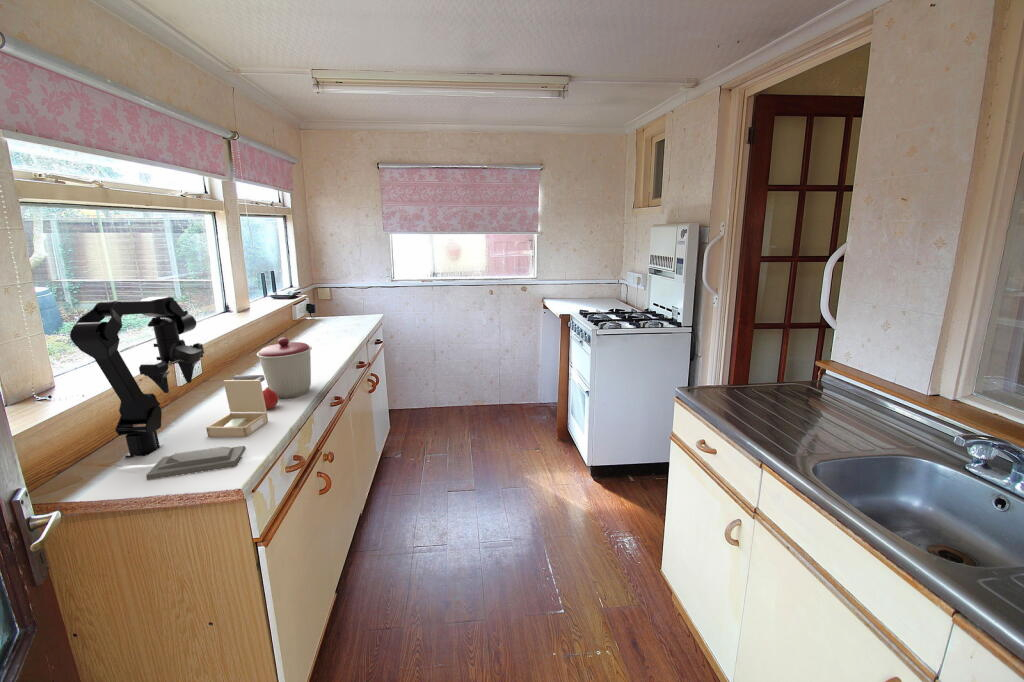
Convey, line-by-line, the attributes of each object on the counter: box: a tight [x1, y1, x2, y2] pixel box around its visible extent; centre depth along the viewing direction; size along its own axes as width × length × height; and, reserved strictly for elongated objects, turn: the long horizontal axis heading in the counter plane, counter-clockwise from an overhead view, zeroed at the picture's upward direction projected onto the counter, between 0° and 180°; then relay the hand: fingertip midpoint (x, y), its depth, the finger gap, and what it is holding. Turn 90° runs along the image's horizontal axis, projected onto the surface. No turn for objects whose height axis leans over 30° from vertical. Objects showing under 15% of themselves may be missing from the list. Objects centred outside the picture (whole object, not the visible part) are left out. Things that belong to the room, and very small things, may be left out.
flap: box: [223, 374, 268, 413], centre depth 152 cm, size 10×12×5 cm
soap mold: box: [145, 445, 246, 481], centre depth 126 cm, size 10×20×4 cm, turn 105°
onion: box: [262, 386, 279, 410], centre depth 162 cm, size 6×6×8 cm
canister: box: [256, 337, 313, 399], centre depth 176 cm, size 18×18×21 cm
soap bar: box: [224, 418, 247, 427], centre depth 147 cm, size 6×4×2 cm, turn 5°
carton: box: [205, 412, 269, 438], centre depth 146 cm, size 11×12×3 cm
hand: (178, 387), depth 149 cm, fingers open, 9 cm apart
